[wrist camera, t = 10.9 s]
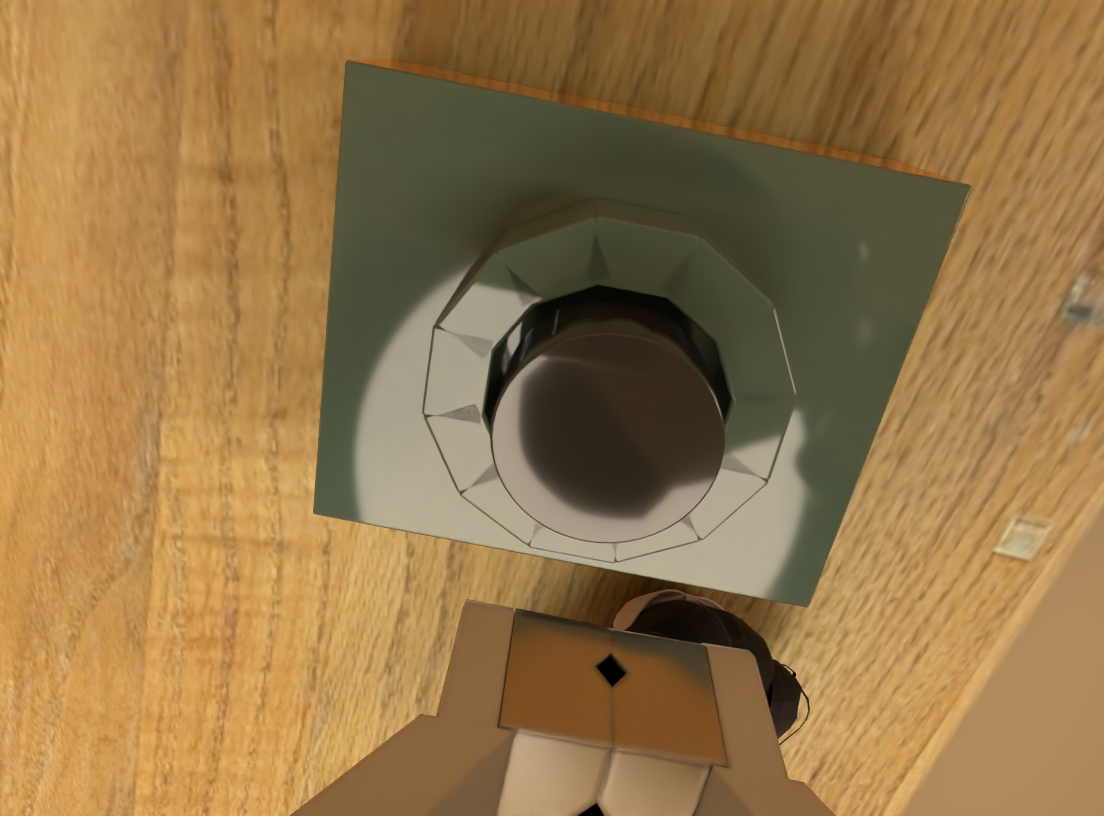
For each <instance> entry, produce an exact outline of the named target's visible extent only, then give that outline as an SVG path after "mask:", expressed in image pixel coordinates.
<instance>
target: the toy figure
mask: <svg viewBox="0 0 1104 816" xmlns="http://www.w3.org/2000/svg"><path fill="white" fill-rule="evenodd" d="M655 596H661V597H657V598H654V599H652V598H653V597H655ZM651 599H652V600H651ZM613 628H614V629H618V630H624V631H629V632H635V633H641V634H646V635H652V636H658V637H663V638H669V639H674V640H680V641H686V642H691V643H697V644H701V643H706V644H713V645H719V646H725V647H732V648H738V649H745V650H749V651H750V652H751V653H752V654H753V655H754V656H755V658H756V662H757V666H758V669H759V673H760V677H761V680H762V684H763V688H764V691H765V695H766V699H767V702H768V706H769V710H770V713H771V717H772V720H773V724H774V728H775V731H776V735H777V739H779V738H780V737H781V736H782V735H783V734H784V733H785V732H786V731H788V730H789V729H790V728H791V726H792V725H793V723H794V722H795V720H796V718H797V711H798V705H799V700H800V694H801V691H802V693H803V695H804V696H805V698H806V699H807V703H808V714H809V711H810V707H809V699H808V697H807V696H806V694H805V693H804V691H803V690H802V688H801V686H800V684H799V682H798V681H797V679H796V678H795V676H796V673H795V672H794V671H793V670H792V669H790V668H789V667H788V666H786V665H784V664H780V663H779V662H778V661H776V660H774V659H772V656H771V654H770V651H769V649H768V647H767V644H766V642H765V641H764V639H763V638H762V637H761V636H760V635H759V634H757V633H756V632H755V631H754V630H753V629H752V628H751V627H749V626H748V625H747V624H746V623H745V622H744V621H743V620H741V619H740V618H738V617H736V616H735V615H733V614H731V613H730V612H727V611H725V610H724V609H723V608H722V607H721V606H720V605H719V604H717V603H716V602H714V601H712V600H711V599H708V598H705V597H698V596H694V595H691V594H687V593H684V592H681V591H678V590H673V589H666V590H662V591H657V592H654V593H650V594H646V595H642V596H639V597H637V598H634V599H632V600H631V601H629V602H628V603H626V604H625V605H624V606H623V608H622V609H621V610H620V611H619V612H618V613H617V615H616V618H615V620H614V623H613ZM782 665H783V666H782ZM784 666H786V667H788V668H789V669H790V670H791V671H793V675H792V674H791V673H790V672H789V671H788V670H787V669H786V668H785V667H784ZM808 714H807V717H808ZM807 717H806V720H807ZM806 720H805V721H806ZM805 721H804V723H805ZM804 723H803V724H804ZM803 724H802V725H803ZM802 725H801V726H802ZM801 726H800V728H801ZM800 728H799V729H800ZM799 729H797V730H796V731H795V732H797V731H798V730H799ZM795 732H794V733H795ZM794 733H793V734H794ZM793 734H791V735H790V736H792V735H793ZM790 736H789V737H790ZM789 737H788V738H789ZM788 738H786V739H785V740H787V739H788ZM785 740H784V741H785ZM784 741H783V742H784ZM783 742H781V743H780V744H779V745H781V744H782V743H783Z"/></svg>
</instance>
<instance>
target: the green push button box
mask: <svg viewBox="0 0 1104 816" xmlns="http://www.w3.org/2000/svg"><path fill="white" fill-rule="evenodd" d="M971 189H972V187H971V186H970V185H969V184H966V183H963V182H960V181H957V180H954V179H951V178H948V177H945V176H942V175H939V174H936V173H933V172H930V171H927V170H924V169H921V168H918V167H915V166H912V165H909V164H906V163H903V162H900V161H896V160H891V159H886V158H881V157H876V156H871V155H866V154H861V153H856V152H851V151H846V150H841V149H836V148H831V147H826V146H821V145H816V144H811V143H806V142H801V141H796V140H792V139H787V138H782V137H777V136H772V135H767V134H762V133H757V132H752V131H747V130H742V129H737V128H732V127H727V126H722V125H717V124H712V123H707V122H702V121H697V120H692V119H687V118H682V117H677V116H672V115H667V114H662V113H657V112H652V111H647V110H642V109H637V108H633V107H628V106H623V105H618V104H613V103H608V102H603V101H598V100H593V99H588V98H583V97H578V96H573V95H568V94H563V93H558V92H553V91H548V90H543V89H538V88H533V87H528V86H523V85H518V84H513V83H508V82H503V81H498V80H493V79H488V78H483V77H478V76H474V75H469V74H464V73H459V72H454V71H449V70H444V69H439V68H434V67H429V66H424V65H419V64H414V63H409V62H404V61H399V60H347V61H346V63H345V75H344V89H343V103H342V117H341V131H340V145H339V159H338V173H337V187H336V201H335V215H334V229H333V243H332V256H331V270H330V284H329V298H328V312H327V326H326V340H325V354H324V368H323V382H322V396H321V410H320V424H319V438H318V452H317V465H316V479H315V493H314V507H313V513H314V514H316V515H322V516H327V517H332V518H337V519H343V520H348V521H353V522H358V523H364V524H369V525H374V526H380V527H385V528H390V529H395V530H401V531H406V532H411V533H416V534H422V535H427V536H432V537H438V538H443V539H448V540H453V541H459V542H464V543H469V544H475V545H480V546H485V547H490V548H496V549H501V550H506V551H511V552H517V553H522V554H527V555H533V556H538V557H543V558H548V559H554V560H559V561H564V562H570V563H575V564H580V565H585V566H591V567H596V568H601V569H606V570H612V571H617V572H622V573H628V574H633V575H638V576H643V577H649V578H654V579H659V580H664V581H670V582H675V583H680V584H686V585H691V586H696V587H701V588H707V589H712V590H717V591H723V592H728V593H733V594H738V595H744V596H749V597H754V598H759V599H765V600H770V601H775V602H781V603H786V604H791V605H796V606H802V607H808V606H809V604H810V601H811V599H812V596H813V594H814V591H815V588H816V586H817V583H818V581H819V578H820V576H821V573H822V570H823V568H824V565H825V563H826V560H827V558H828V555H829V553H830V550H831V547H832V545H833V542H834V540H835V537H836V535H837V532H838V530H839V527H840V524H841V522H842V519H843V517H844V514H845V512H846V509H847V506H848V504H849V501H850V499H851V496H852V494H853V491H854V489H855V486H856V483H857V481H858V478H859V476H860V473H861V471H862V468H863V466H864V463H865V460H866V458H867V455H868V453H869V450H870V448H871V445H872V442H873V440H874V437H875V435H876V432H877V430H878V427H879V425H880V422H881V419H882V417H883V414H884V412H885V409H886V407H887V404H888V402H889V399H890V396H891V394H892V391H893V389H894V386H895V384H896V381H897V378H898V376H899V373H900V371H901V368H902V366H903V363H904V361H905V358H906V355H907V353H908V350H909V348H910V345H911V343H912V340H913V337H914V335H915V332H916V330H917V327H918V325H919V322H920V320H921V317H922V314H923V312H924V309H925V307H926V304H927V302H928V299H929V297H930V294H931V291H932V289H933V286H934V284H935V281H936V279H937V276H938V273H939V271H940V268H941V266H942V263H943V261H944V258H945V256H946V253H947V250H948V248H949V245H950V243H951V240H952V238H953V235H954V233H955V230H956V227H957V225H958V222H959V220H960V217H961V215H962V212H963V209H964V207H965V204H966V202H967V199H968V197H969V194H970V192H971ZM594 299H621V300H629V301H633V302H637V303H640V304H644V305H646V306H649V307H651V308H653V309H656V310H658V311H659V312H661V313H663V314H665V315H666V316H668V317H669V318H671V319H672V320H673V321H675V322H676V323H677V324H679V325H680V326H681V327H682V328H683V329H684V330H685V331H686V332H687V333H688V334H689V336H690V337H691V338H692V340H693V341H694V342H695V344H696V345H697V347H698V349H699V350H700V352H701V354H702V356H703V358H704V361H705V363H706V366H707V369H708V372H709V375H710V378H711V380H712V383H713V386H714V389H715V392H716V395H717V398H718V401H719V404H720V407H721V410H722V414H723V419H724V424H725V450H724V456H723V460H722V464H721V467H720V470H719V473H718V475H717V478H716V480H715V482H714V483H713V485H712V487H711V489H710V491H709V492H708V493H707V495H706V496H705V497H704V499H703V500H702V501H701V503H700V504H699V505H698V506H697V507H696V508H695V509H694V510H693V511H692V512H691V513H690V514H688V515H687V516H686V517H685V518H683V519H682V520H681V521H679V522H678V523H676V524H675V525H673V526H671V527H670V528H668V529H666V530H664V531H662V532H659V533H657V534H655V535H652V536H649V537H646V538H643V539H639V540H634V541H630V542H622V543H594V542H586V541H581V540H577V539H573V538H569V537H566V536H564V535H561V534H558V533H556V532H554V531H552V530H550V529H548V528H546V527H544V526H543V525H541V524H540V523H538V522H537V521H535V520H534V519H532V518H531V517H530V516H529V515H527V514H526V513H525V512H524V511H523V510H522V509H521V508H520V507H519V506H518V505H517V504H516V503H515V502H514V500H513V499H512V498H511V497H510V495H509V494H508V492H507V491H506V489H505V488H504V486H503V484H502V482H501V480H500V478H499V476H498V474H497V471H496V468H495V465H494V462H493V458H492V453H491V444H490V430H491V421H492V417H493V413H494V408H495V405H496V402H497V399H498V395H499V392H500V389H501V386H502V383H503V380H504V376H505V373H506V370H507V367H508V364H509V362H510V359H511V357H512V355H513V353H514V351H515V349H516V348H517V346H518V344H519V343H520V342H521V340H522V339H523V338H524V336H525V335H526V334H527V333H528V332H529V331H530V330H531V329H532V328H533V327H534V326H535V325H536V324H537V323H539V322H540V321H541V320H543V319H544V318H545V317H547V316H548V315H550V314H552V313H554V312H555V311H557V310H559V309H561V308H564V307H566V306H569V305H571V304H574V303H578V302H582V301H586V300H594Z"/></svg>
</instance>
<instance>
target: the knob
mask: <svg viewBox="0 0 1104 816" xmlns="http://www.w3.org/2000/svg"><path fill="white" fill-rule="evenodd" d="M490 444H491V453H492V458H493V462H494V465H495V468H496V471H497V474H498V476H499V478H500V480H501V482H502V484H503V486H504V488H505V489H506V491H507V492H508V494H509V495H510V497H511V498H512V499H513V500H514V502H515V503H516V504H517V505H518V506H519V507H520V508H521V509H522V510H523V511H524V512H525V513H526V514H527V515H529V516H530V517H531V518H532V519H534V520H535V521H537V522H538V523H540V524H541V525H543V526H544V527H546V528H548V529H550V530H552V531H554V532H556V533H558V534H561V535H564V536H566V537H569V538H573V539H577V540H581V541H586V542H594V543H622V542H630V541H634V540H639V539H643V538H646V537H649V536H652V535H655V534H657V533H659V532H662V531H664V530H666V529H668V528H670V527H671V526H673V525H675V524H676V523H678V522H679V521H681V520H682V519H683V518H685V517H686V516H687V515H688V514H690V513H691V512H692V511H693V510H694V509H695V508H696V507H697V506H698V505H699V504H700V503H701V501H702V500H703V499H704V497H705V496H706V495H707V493H708V492H709V491H710V489H711V487H712V485H713V483H714V482H715V480H716V478H717V475H718V473H719V470H720V467H721V464H722V460H723V456H724V450H725V424H724V419H723V414H722V410H721V407H720V404H719V401H718V398H717V395H716V392H715V389H714V386H713V383H712V380H711V378H710V375H709V372H708V369H707V366H706V363H705V361H704V358H703V356H702V354H701V352H700V350H699V349H698V347H697V345H696V344H695V342H694V341H693V340H692V338H691V337H690V336H689V334H688V333H687V332H686V331H685V330H684V329H683V328H682V327H681V326H680V325H679V324H677V323H676V322H675V321H673V320H672V319H671V318H669V317H668V316H666V315H665V314H663V313H661V312H659V311H658V310H656V309H653V308H651V307H649V306H646V305H644V304H640V303H637V302H633V301H629V300H621V299H594V300H586V301H582V302H578V303H574V304H571V305H569V306H566V307H564V308H561V309H559V310H557V311H555V312H554V313H552V314H550V315H548V316H547V317H545V318H544V319H543V320H541V321H540V322H539V323H537V324H536V325H535V326H534V327H533V328H532V329H531V330H530V331H529V332H528V333H527V334H526V335H525V336H524V338H523V339H522V340H521V342H520V343H519V344H518V346H517V348H516V349H515V351H514V353H513V355H512V357H511V359H510V362H509V364H508V367H507V370H506V373H505V376H504V380H503V383H502V386H501V389H500V392H499V395H498V399H497V402H496V405H495V408H494V413H493V417H492V421H491V430H490Z"/></svg>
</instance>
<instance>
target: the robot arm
mask: <svg viewBox="0 0 1104 816" xmlns="http://www.w3.org/2000/svg"><path fill="white" fill-rule="evenodd" d="M290 816H835V815H834V814H833V812H832V811H831V810H830V809H829V808H828V807H827V806H826V805H825V804H824V803H823V802H822V801H821V800H820V799H819V798H818V797H817V796H816V795H815V793H814V792H813V791H812V790H811V789H810V788H809V787H808V786H807V785H806V784H805V783H804V782H800V781H795V780H790V779H788V775H787V772H786V768H785V764H784V761H783V757H782V753H781V750H780V746H779V742H778V739H777V735H776V731H775V728H774V724H773V720H772V717H771V713H770V710H769V706H768V702H767V699H766V695H765V691H764V688H763V684H762V680H761V677H760V673H759V669H758V666H757V662H756V658H755V656H754V655H753V654H752V653H751V652H750V651H749V650H745V649H738V648H732V647H725V646H719V645H713V644H706V643H701V644H697V643H691V642H686V641H680V640H674V639H669V638H663V637H658V636H652V635H646V634H641V633H635V632H629V631H624V630H618V629H612V628H609V627H605V626H600V625H595V624H590V623H585V622H580V621H575V620H571V619H566V618H561V617H556V616H551V615H546V614H541V613H536V612H532V611H527V610H522V609H517V608H516V609H515V613H514V610H513V608H510V607H505V606H500V605H494V604H489V603H484V602H479V601H474V600H469V599H467V601H466V602H465V604H464V606H463V609H462V613H461V617H460V621H459V625H458V629H457V633H456V638H455V642H454V646H453V650H452V654H451V658H450V662H449V666H448V670H447V674H446V679H445V683H444V687H443V691H442V695H441V699H440V703H439V707H438V711H437V715H436V716H430V715H424V714H420V715H419V716H418V717H417V718H415V719H414V720H413V721H411V722H410V723H409V724H407V725H406V726H405V727H404V728H402V729H401V730H400V731H398V732H397V733H396V734H395V735H393V736H392V737H391V738H389V739H388V740H387V741H385V742H384V743H383V744H382V745H380V746H379V747H378V748H376V749H375V750H374V751H373V752H371V753H370V754H369V755H367V756H366V757H365V758H364V759H362V760H361V761H360V762H358V763H357V764H356V765H354V766H353V767H352V768H351V769H349V770H348V771H347V772H345V773H344V774H343V775H342V776H340V777H339V778H338V779H336V780H335V781H334V782H332V783H331V784H330V785H329V786H327V787H326V788H325V789H323V790H322V791H321V792H320V793H318V794H317V795H316V796H314V797H313V798H312V799H311V800H309V801H308V802H307V803H305V804H304V805H303V806H301V807H300V808H299V809H298V810H296V811H295V812H294V813H292V814H291V815H290Z"/></svg>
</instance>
